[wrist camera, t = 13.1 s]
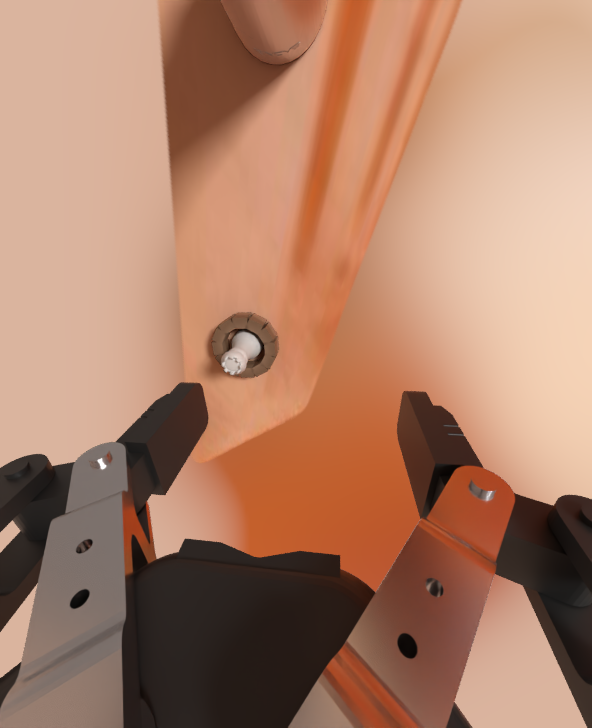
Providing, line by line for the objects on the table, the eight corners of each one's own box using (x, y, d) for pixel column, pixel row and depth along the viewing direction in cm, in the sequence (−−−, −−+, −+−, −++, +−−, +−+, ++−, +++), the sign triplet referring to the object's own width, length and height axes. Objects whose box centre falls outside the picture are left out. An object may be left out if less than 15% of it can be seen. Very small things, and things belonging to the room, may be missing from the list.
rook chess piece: (245, 360, 43) (227, 387, 36) (228, 335, 42) (206, 358, 35) (269, 348, 42) (256, 373, 35) (253, 322, 40) (235, 343, 33)
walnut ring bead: (214, 312, 40) (206, 318, 38) (276, 312, 39) (272, 317, 37) (223, 369, 44) (218, 376, 42) (280, 370, 43) (277, 377, 41)
